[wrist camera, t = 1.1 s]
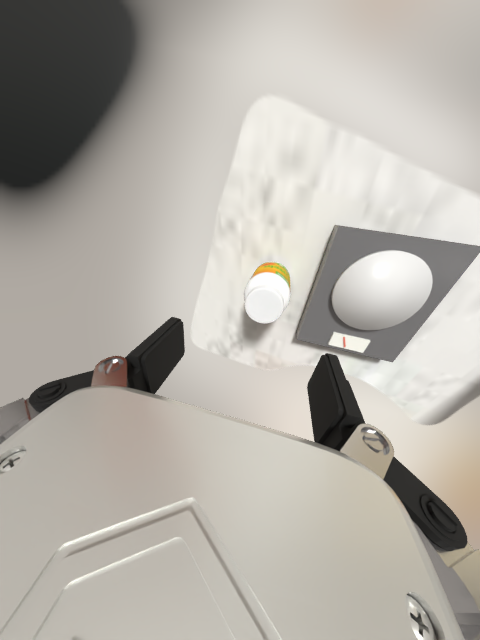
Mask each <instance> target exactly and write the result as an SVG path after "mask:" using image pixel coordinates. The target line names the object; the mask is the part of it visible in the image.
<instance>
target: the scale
mask: <svg viewBox="0 0 480 640" xmlns="http://www.w3.org/2000/svg"><path fill="white" fill-rule="evenodd" d="M479 253H480V246H475V245H468V244H461V243H454V242H448V241H441V240H434V239H427V238H420V237H413V236H407V235H400V234H393V233H386V232H379V231H372V230H365V229H359V228H352V227H345V226H338V225H335V226H334V229H333V231H332V234H331V237H330V240H329V243H328V245H327V248H326V251H325V254H324V257H323V259H322V262H321V265H320V268H319V271H318V273H317V276H316V279H315V282H314V285H313V287H312V290H311V293H310V296H309V299H308V301H307V304H306V307H305V310H304V312H303V315H302V318H301V321H300V324H299V326H298V329H297V332H296V336H297V340H301V341H305V342H309V343H313V344H318V345H322V346H326V347H330V348H335V349H339V350H343V351H347V352H352V353H356V354H360V355H364V356H368V357H373V358H377V359H381V360H385V361H390V362H393V361H394V360H395V359H396V357H397V356H398V355H399V354H400V352H401V351H402V350H403V349H404V347H405V346H406V345H407V344H408V342H409V341H410V340H411V339H412V337H413V336H414V335H415V333H416V332H417V331H418V330H419V328H420V327H421V326H422V325H423V323H424V322H425V321H426V320H427V318H428V317H429V316H430V315H431V313H432V312H433V311H434V310H435V308H436V307H437V306H438V304H439V303H440V302H441V301H442V299H443V298H444V297H445V296H446V294H447V293H448V292H449V291H450V289H451V288H452V287H453V286H454V284H455V283H456V282H457V281H458V279H459V278H460V277H461V275H462V274H463V273H464V272H465V270H466V269H467V268H468V267H469V265H470V264H471V263H472V262H473V260H474V259H475V258H476V257H477V255H478V254H479Z"/></svg>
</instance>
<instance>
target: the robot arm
mask: <svg viewBox="0 0 480 640" xmlns="http://www.w3.org/2000/svg"><path fill="white" fill-rule="evenodd" d="M184 351H185V350H184V330H183V322H182V321H181V319H178V318H174V317H171V318H170V319H169V320H168V321H166V322H165V323H164V324H163V325H162V326H161V327H160V328H158V329H157V330H156V331H155V332H154V333H153V334H151V335H150V336H149V337H148V338H147V339H146V340H144V341H143V342H142V343H141V344H140V345H139V346H137V347H136V348H135V349H134V350H133V351H132V352H131V353H130V354H128V356H127V357H125V358H124V357H121V356H112V357H108V358H106V359H104V360H102V361H100V362H99V363H98V364H97V365H96V366H95V369H94V370H93V371H90V372H86V373H82V374H78V375H75V376H71V377H67V378H63V379H59V380H56V381H52V382H49V383H47V384H45V385H43V386H41V387H39V388H38V389H36V390H35V391H34V392H33V393H32V394H31V396H30V397H29V398H28V399H26V400H25V399H24V398H22V399H19V400H17V401H14V402H12V403H10V404H7V405H5V406H3V407H0V640H480V551H479V549H478V550H474V549H473V548H472V547H471V545H470V544H469V543H468V542H467V536H466V533H465V530H464V528H463V526H462V524H461V522H460V521H459V519H458V518H457V517H456V515H455V514H454V513H453V511H452V510H451V509H450V508H449V507H448V506H447V505H446V504H445V503H444V502H443V501H442V500H441V499H440V498H439V497H438V496H436V495H435V494H434V493H433V492H432V491H431V490H430V489H429V488H428V487H427V486H425V485H424V484H423V483H422V482H421V481H420V480H419V479H418V478H417V477H416V476H415V475H413V474H412V473H411V472H410V471H409V470H408V469H407V468H406V467H405V466H403V465H402V464H401V463H400V462H399V461H398V460H397V459H396V458H395V457H394V449H393V446H392V444H391V442H390V441H389V439H388V438H387V437H386V436H385V435H384V434H383V433H382V432H381V431H380V430H378V429H377V428H376V427H374V426H371V425H369V424H365V421H364V419H363V416H362V414H361V411H360V409H359V406H358V404H357V401H356V399H355V396H354V393H353V391H352V388H351V386H350V384H349V382H348V381H347V380H346V378H345V375H344V373H343V370H342V368H341V365H340V362H339V360H338V357H337V356H336V355H332V354H328V353H326V354H325V355H322V356H321V358H320V360H319V362H318V364H317V366H316V368H315V370H314V372H313V375H312V377H311V378H310V380H309V382H308V387H307V388H308V396H309V404H310V411H311V419H312V427H313V434H314V441H315V442H312V441H309V440H306V439H303V438H300V437H297V436H294V435H291V434H287V433H284V432H281V431H277V430H274V429H271V428H267V427H264V426H261V425H257V424H254V423H251V422H248V421H244V420H241V419H237V418H234V417H231V416H227V415H224V414H220V413H217V412H214V411H211V410H207V409H204V408H200V407H197V406H193V405H190V404H187V403H183V402H180V401H176V400H173V399H169V398H166V397H162V396H159V395H155V393H156V391H157V390H158V389H159V388H160V386H161V385H162V383H163V382H164V381H165V380H166V378H167V377H168V375H169V374H170V373H171V371H172V370H173V369H174V367H175V366H176V365H177V363H178V362H179V361H180V359H181V358H182V357H183V355H184Z"/></svg>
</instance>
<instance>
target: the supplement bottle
mask: <svg viewBox="0 0 480 640" xmlns="http://www.w3.org/2000/svg"><path fill="white" fill-rule="evenodd" d="M244 300H245V310H246V312H247V314H248V316H249V317H250V318H251V319H253V320H254V321H256V322H258V323H265V324H266V323H271V322H274V321H275V320H277V319H278V318H279V317H280V316H281V314H282V312H283V311H284V310H285V309H286V308H287V306H288V304H289V301H290V276H289V272H288V270H287V269H286V268H285V267H284V266H283V265H282V264H280V263H278V262H266V263H263V264H262V265H260V266H259V267H258V268H257V269H256V271H255V272H254V274H253V275H252V277H251V279H250V280H249V282H248V283H247V285H246V287H245V290H244Z"/></svg>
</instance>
